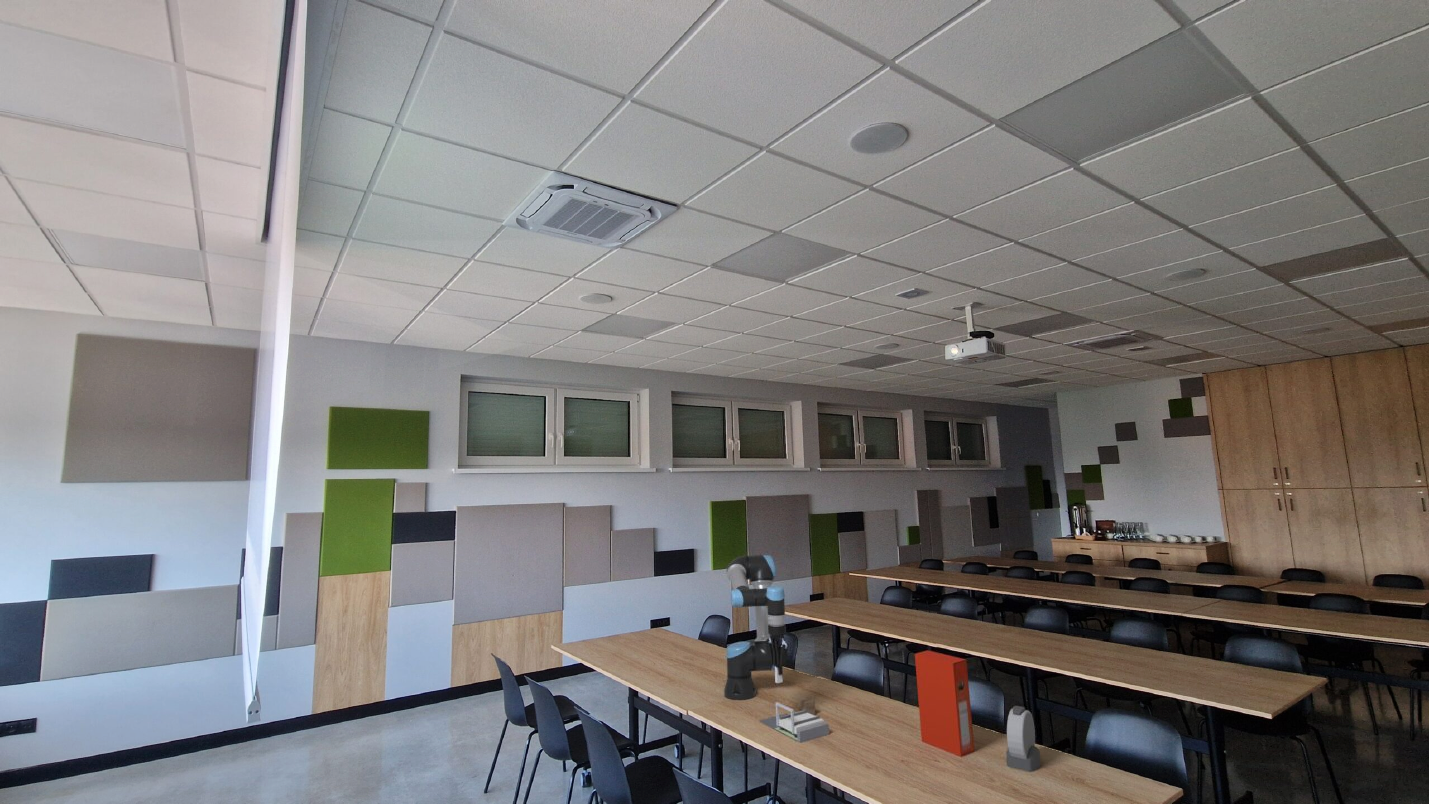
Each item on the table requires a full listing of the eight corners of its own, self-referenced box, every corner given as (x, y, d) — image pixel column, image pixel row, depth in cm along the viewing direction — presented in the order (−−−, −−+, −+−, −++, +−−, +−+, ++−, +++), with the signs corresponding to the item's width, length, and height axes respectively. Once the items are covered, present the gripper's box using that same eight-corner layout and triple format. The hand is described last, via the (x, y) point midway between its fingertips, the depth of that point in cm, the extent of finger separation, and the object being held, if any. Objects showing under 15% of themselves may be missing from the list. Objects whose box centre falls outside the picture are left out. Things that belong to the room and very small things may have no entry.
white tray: (775, 729, 252) (773, 701, 253) (803, 721, 259) (802, 694, 261) (795, 739, 241) (793, 710, 242) (824, 731, 248) (823, 703, 250)
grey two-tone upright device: (1014, 751, 226) (1009, 698, 228) (1045, 758, 219) (1040, 703, 222) (1001, 767, 213) (996, 710, 216) (1034, 775, 207) (1028, 716, 209)
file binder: (960, 757, 222) (952, 662, 227) (921, 741, 237) (914, 653, 241) (974, 751, 226) (966, 659, 231) (935, 736, 241) (928, 649, 245)
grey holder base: (759, 721, 262) (758, 711, 263) (786, 714, 270) (786, 704, 270) (800, 742, 239) (799, 731, 239) (829, 734, 246) (828, 723, 247)
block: (798, 714, 269) (798, 699, 270) (807, 711, 272) (807, 697, 273) (806, 717, 265) (805, 702, 266) (815, 715, 268) (814, 700, 268)
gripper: (760, 622, 270) (762, 679, 267) (778, 628, 259) (781, 687, 256) (774, 620, 274) (777, 676, 271) (793, 625, 263) (795, 684, 260)
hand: (779, 682), depth 264 cm, fingers closed
